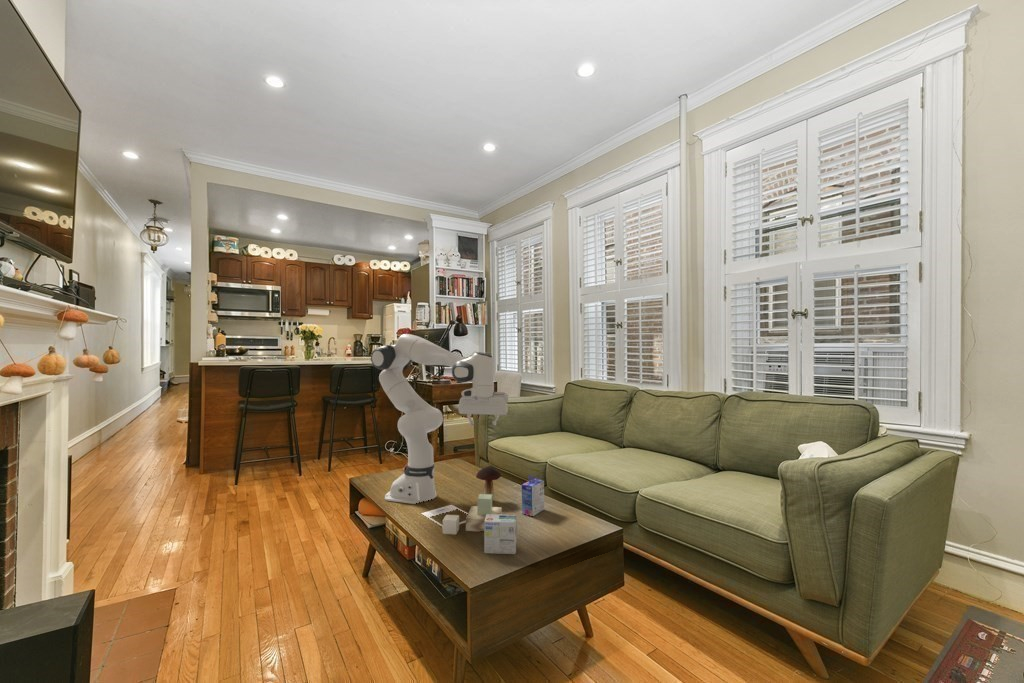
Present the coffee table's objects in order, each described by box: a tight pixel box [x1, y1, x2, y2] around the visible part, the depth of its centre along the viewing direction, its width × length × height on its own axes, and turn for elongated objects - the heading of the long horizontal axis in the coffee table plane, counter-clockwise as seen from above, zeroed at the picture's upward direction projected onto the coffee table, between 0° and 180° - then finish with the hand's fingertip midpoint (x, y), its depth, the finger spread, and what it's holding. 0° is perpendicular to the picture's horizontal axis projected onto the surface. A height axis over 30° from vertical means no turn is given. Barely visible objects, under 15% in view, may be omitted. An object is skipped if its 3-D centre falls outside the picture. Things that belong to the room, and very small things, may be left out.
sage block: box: [476, 493, 493, 515], centre depth 165 cm, size 5×5×6 cm
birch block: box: [465, 505, 503, 532], centre depth 165 cm, size 12×12×5 cm
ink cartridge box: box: [521, 474, 545, 517], centre depth 178 cm, size 10×6×14 cm, turn 147°
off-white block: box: [442, 514, 460, 535], centre depth 159 cm, size 5×5×5 cm
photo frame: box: [420, 504, 469, 528], centre depth 172 cm, size 15×1×18 cm
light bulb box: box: [483, 513, 518, 555], centre depth 145 cm, size 11×7×11 cm, turn 88°
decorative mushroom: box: [475, 465, 502, 500], centre depth 190 cm, size 11×11×15 cm
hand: (482, 425), depth 179 cm, fingers open, 8 cm apart
